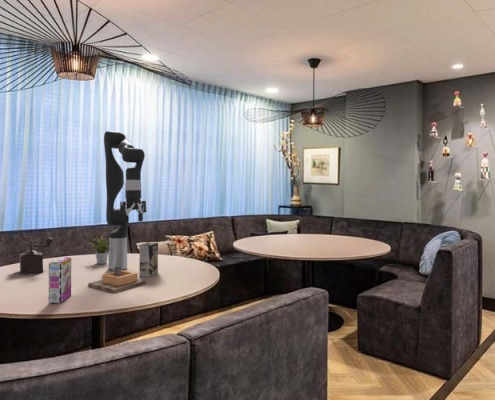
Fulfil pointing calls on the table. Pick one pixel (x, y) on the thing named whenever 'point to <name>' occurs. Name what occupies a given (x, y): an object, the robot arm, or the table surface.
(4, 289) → the table surface
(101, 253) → the house plant
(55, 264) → the candy bar box
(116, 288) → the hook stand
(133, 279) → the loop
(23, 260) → the manual coffee grinder
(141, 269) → the coffee box
